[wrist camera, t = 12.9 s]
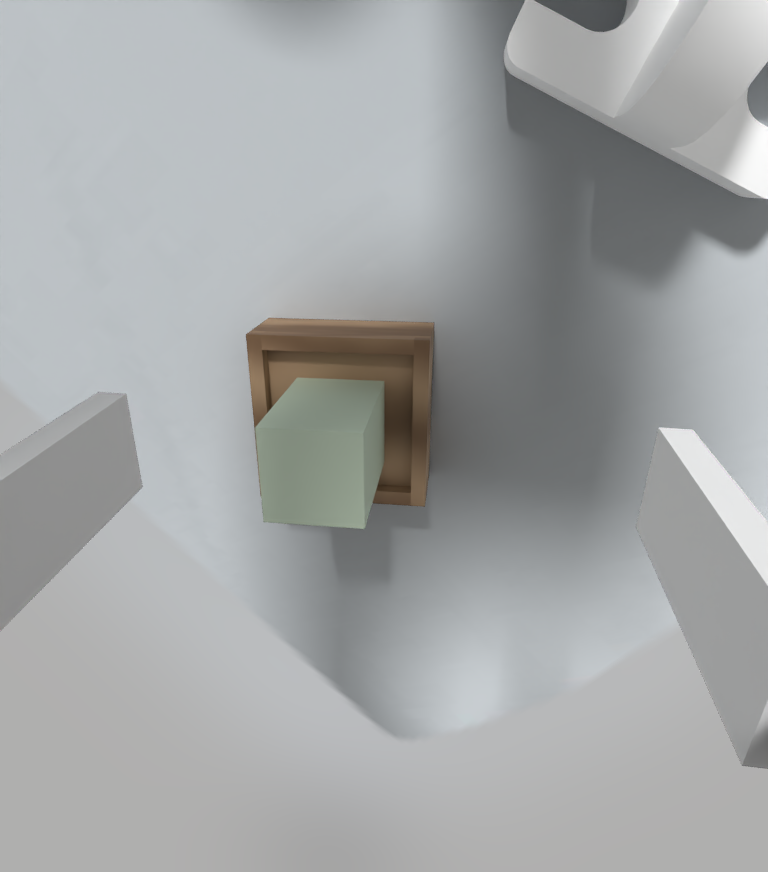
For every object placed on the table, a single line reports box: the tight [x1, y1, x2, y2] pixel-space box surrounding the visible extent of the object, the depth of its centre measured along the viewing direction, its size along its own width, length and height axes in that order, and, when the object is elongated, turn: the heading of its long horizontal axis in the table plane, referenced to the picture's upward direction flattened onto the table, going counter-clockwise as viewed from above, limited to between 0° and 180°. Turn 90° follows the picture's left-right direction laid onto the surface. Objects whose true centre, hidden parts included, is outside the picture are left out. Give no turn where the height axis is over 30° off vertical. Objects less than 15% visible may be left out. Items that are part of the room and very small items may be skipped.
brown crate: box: [246, 318, 434, 507], centre depth 44 cm, size 12×12×5 cm
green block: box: [255, 378, 384, 529], centre depth 38 cm, size 6×6×9 cm
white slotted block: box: [503, 0, 768, 199], centre depth 30 cm, size 10×18×11 cm, turn 65°
